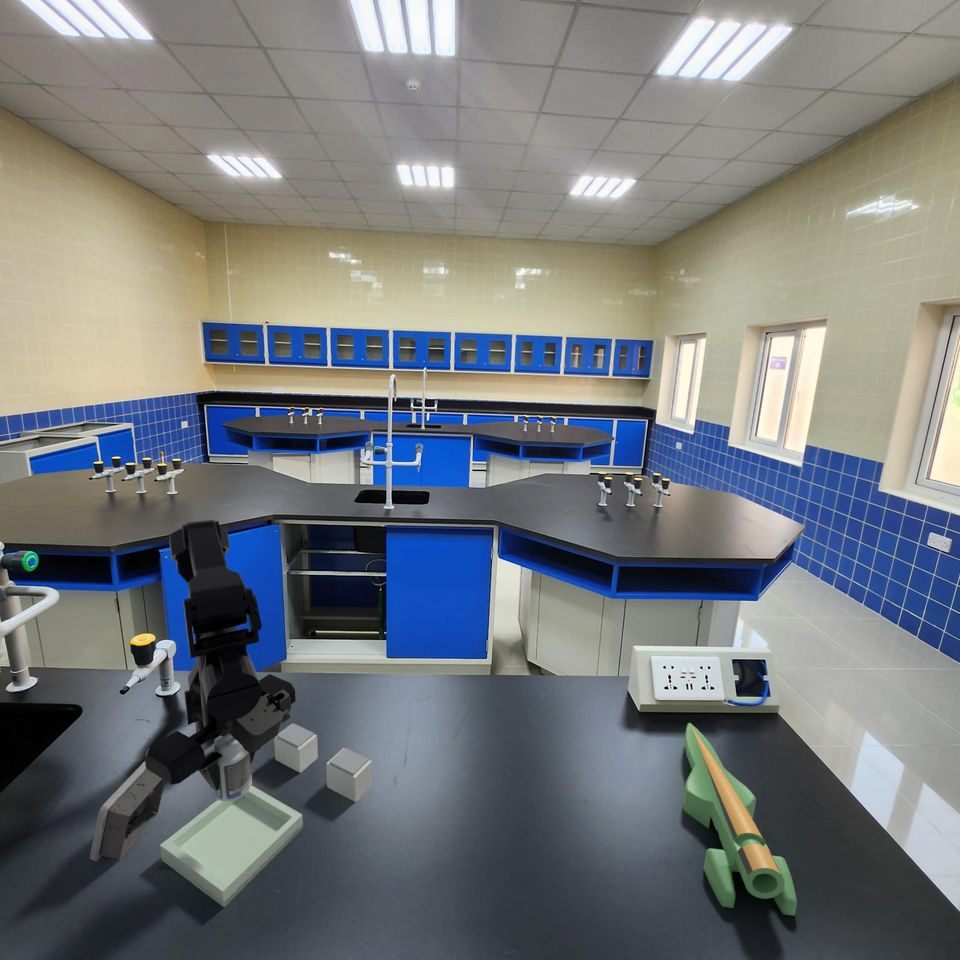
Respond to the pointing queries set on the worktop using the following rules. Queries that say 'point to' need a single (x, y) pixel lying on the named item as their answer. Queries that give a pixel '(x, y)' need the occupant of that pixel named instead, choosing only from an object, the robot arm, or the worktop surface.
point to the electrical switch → (127, 814)
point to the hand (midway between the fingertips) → (232, 776)
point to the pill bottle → (232, 769)
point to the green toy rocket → (732, 830)
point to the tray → (231, 843)
